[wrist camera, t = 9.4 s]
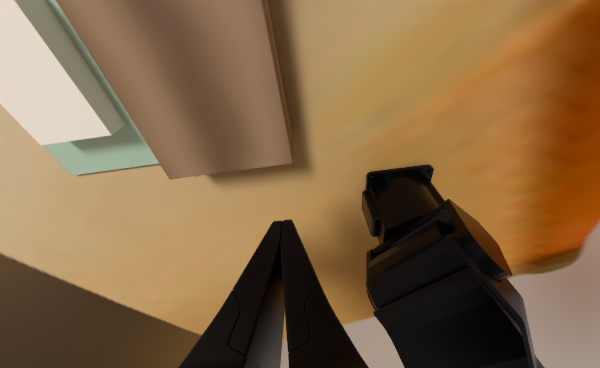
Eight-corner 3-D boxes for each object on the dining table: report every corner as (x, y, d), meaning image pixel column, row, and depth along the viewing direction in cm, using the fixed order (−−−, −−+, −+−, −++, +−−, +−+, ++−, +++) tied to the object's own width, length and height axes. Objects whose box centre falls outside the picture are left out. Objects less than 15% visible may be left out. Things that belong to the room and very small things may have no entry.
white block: (-100, 0, 12) (-56, 0, 14) (40, 145, 18) (60, 133, 20) (0, -20, 12) (33, -17, 14) (111, 135, 18) (126, 124, 19)
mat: (35, -136, 11) (30, -139, 11) (190, 157, 22) (188, 159, 21) (-173, -85, 12) (-182, -87, 12) (74, 173, 23) (71, 175, 22)
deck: (238, -166, 11) (215, -234, 8) (292, 138, 21) (292, 163, 18) (44, -119, 11) (-49, -164, 8) (187, 153, 21) (169, 179, 18)
